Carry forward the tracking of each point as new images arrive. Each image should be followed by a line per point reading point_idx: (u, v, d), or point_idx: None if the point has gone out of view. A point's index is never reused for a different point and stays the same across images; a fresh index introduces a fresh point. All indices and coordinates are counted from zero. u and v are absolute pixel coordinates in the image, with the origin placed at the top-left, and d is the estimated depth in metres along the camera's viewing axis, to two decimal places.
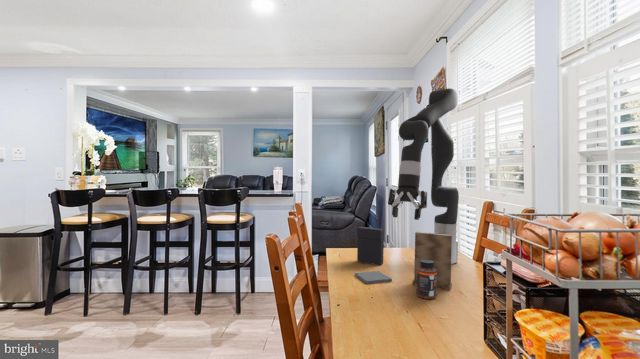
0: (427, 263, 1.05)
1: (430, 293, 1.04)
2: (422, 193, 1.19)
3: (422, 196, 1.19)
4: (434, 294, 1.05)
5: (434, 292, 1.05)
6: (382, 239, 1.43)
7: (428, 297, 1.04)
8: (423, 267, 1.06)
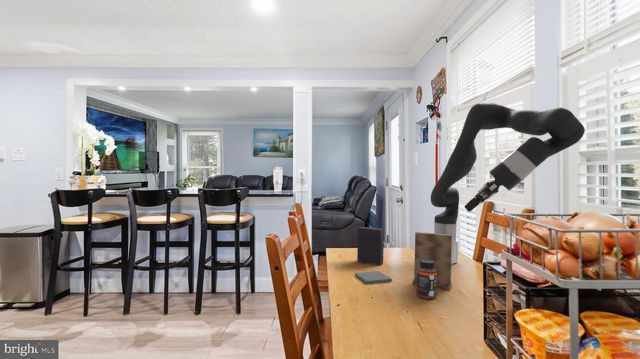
0: (427, 263, 1.05)
1: (430, 293, 1.04)
2: None
3: None
4: (434, 294, 1.05)
5: (434, 292, 1.05)
6: (382, 239, 1.43)
7: (428, 297, 1.04)
8: (423, 267, 1.06)
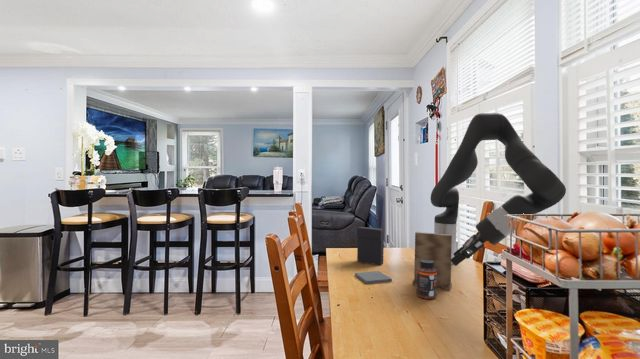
0: (427, 263, 1.05)
1: (430, 293, 1.04)
2: None
3: None
4: (434, 294, 1.05)
5: (434, 292, 1.05)
6: (382, 239, 1.43)
7: (428, 297, 1.04)
8: (423, 267, 1.06)
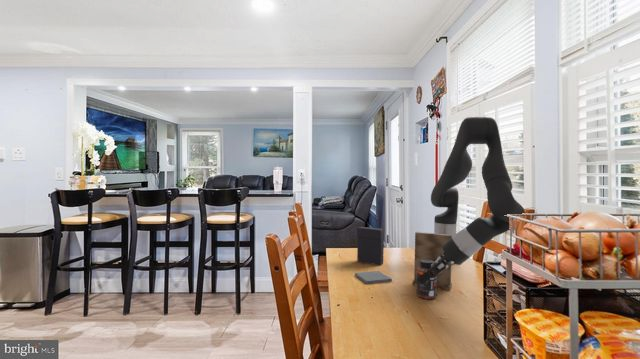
0: (427, 263, 1.05)
1: (430, 293, 1.04)
2: None
3: None
4: (434, 294, 1.05)
5: (434, 292, 1.05)
6: (382, 239, 1.43)
7: (428, 297, 1.04)
8: (423, 267, 1.06)
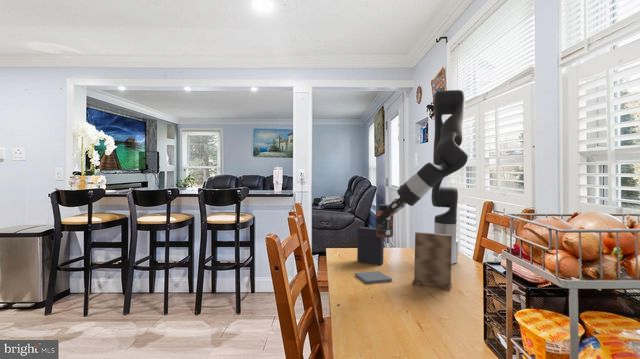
0: (384, 206, 1.19)
1: (387, 232, 1.18)
2: (404, 204, 1.23)
3: None
4: (391, 233, 1.18)
5: (390, 231, 1.18)
6: (382, 239, 1.43)
7: (385, 235, 1.18)
8: (381, 209, 1.19)
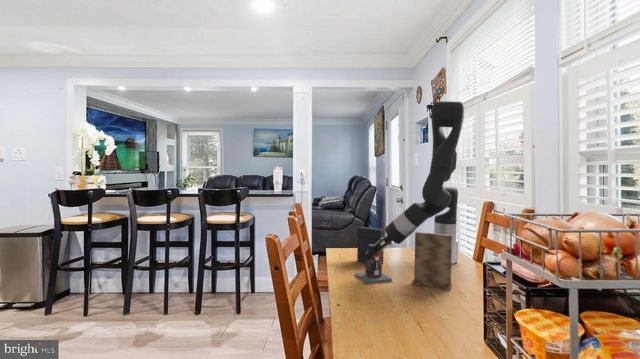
0: None
1: (376, 272, 1.22)
2: None
3: None
4: (379, 273, 1.22)
5: (379, 271, 1.22)
6: None
7: (374, 276, 1.22)
8: None
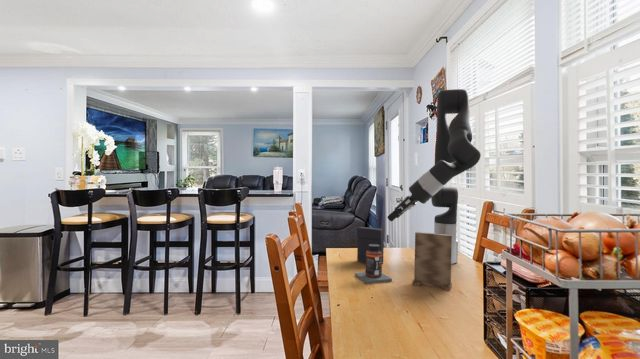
0: (373, 247, 1.23)
1: (376, 272, 1.22)
2: None
3: (415, 203, 1.24)
4: (379, 273, 1.22)
5: (379, 271, 1.22)
6: (382, 239, 1.43)
7: (374, 276, 1.22)
8: (370, 250, 1.23)
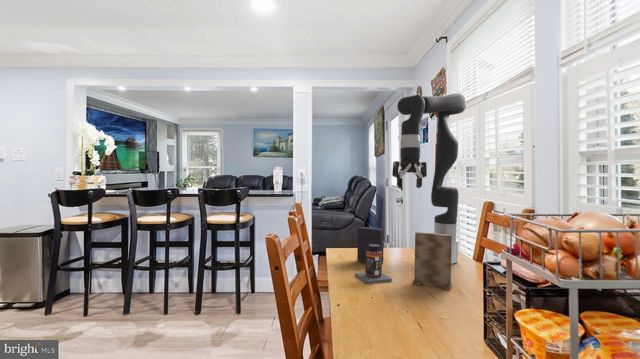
0: (373, 247, 1.23)
1: (376, 272, 1.22)
2: (425, 164, 1.35)
3: (425, 167, 1.35)
4: (379, 273, 1.22)
5: (379, 272, 1.22)
6: (382, 239, 1.43)
7: (374, 276, 1.22)
8: (370, 250, 1.23)
